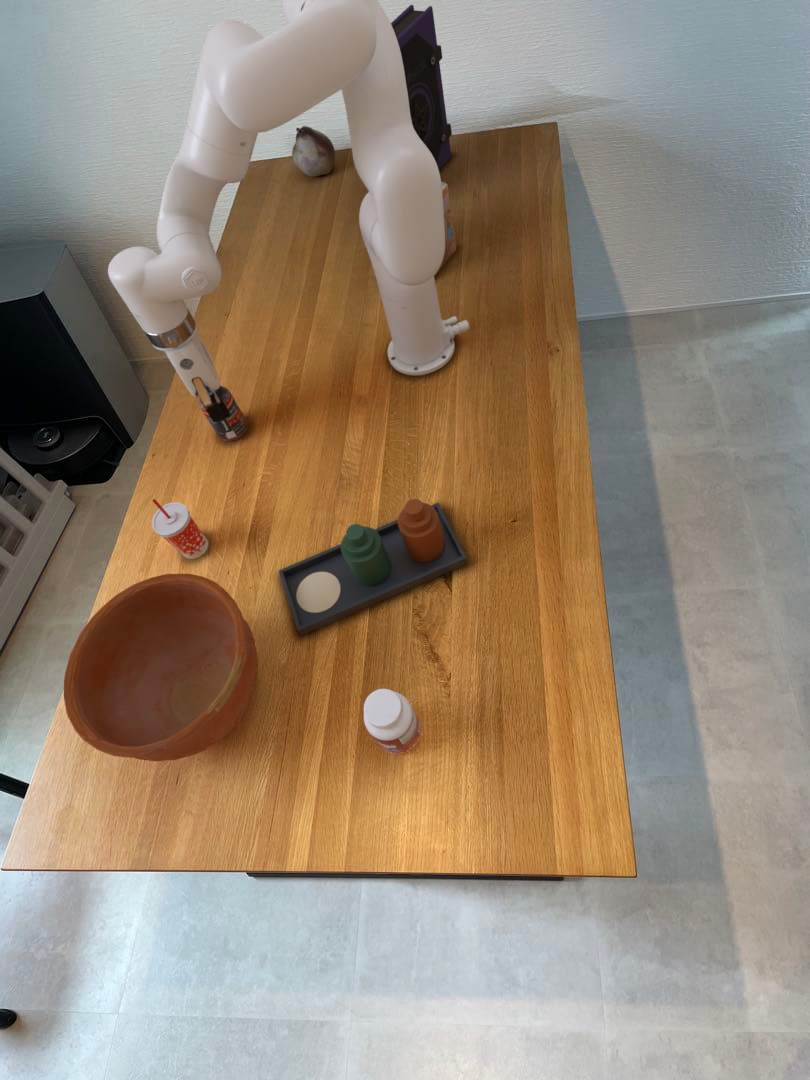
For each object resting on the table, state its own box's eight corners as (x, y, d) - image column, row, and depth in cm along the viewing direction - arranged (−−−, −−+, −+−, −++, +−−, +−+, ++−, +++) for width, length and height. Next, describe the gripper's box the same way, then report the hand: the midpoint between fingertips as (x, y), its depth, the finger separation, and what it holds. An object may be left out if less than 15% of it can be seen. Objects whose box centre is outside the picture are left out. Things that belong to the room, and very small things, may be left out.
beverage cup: (218, 535, 114) (180, 487, 102) (202, 566, 111) (160, 520, 100) (188, 528, 116) (147, 480, 104) (171, 559, 113) (127, 513, 102)
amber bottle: (436, 523, 107) (425, 482, 97) (451, 553, 103) (441, 514, 94) (401, 538, 106) (387, 499, 97) (415, 568, 103) (401, 531, 94)
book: (400, 216, 150) (369, 68, 125) (377, 211, 153) (342, 65, 128) (454, 155, 159) (435, 5, 133) (431, 151, 161) (409, 3, 136)
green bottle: (383, 546, 106) (367, 507, 97) (397, 576, 103) (381, 539, 94) (348, 561, 106) (328, 524, 97) (360, 592, 103) (341, 556, 94)
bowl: (236, 807, 90) (185, 784, 78) (91, 750, 98) (23, 720, 86) (311, 640, 101) (276, 595, 88) (174, 600, 109) (124, 554, 96)
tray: (440, 509, 109) (438, 502, 107) (468, 563, 103) (466, 557, 101) (282, 576, 108) (278, 570, 106) (301, 636, 102) (297, 630, 100)
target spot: (332, 565, 106) (332, 564, 106) (346, 601, 103) (346, 601, 102) (291, 582, 106) (291, 582, 106) (303, 620, 102) (303, 619, 102)
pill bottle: (367, 736, 92) (346, 711, 83) (396, 700, 94) (379, 672, 84) (402, 765, 89) (384, 743, 80) (431, 727, 91) (417, 701, 82)
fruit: (295, 184, 165) (278, 134, 155) (304, 161, 170) (288, 111, 159) (335, 181, 163) (320, 130, 152) (343, 158, 167) (329, 107, 157)
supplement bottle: (243, 443, 124) (217, 401, 114) (214, 442, 125) (186, 400, 116) (252, 418, 127) (228, 375, 117) (224, 417, 128) (197, 374, 119)
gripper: (203, 351, 101) (249, 430, 116) (183, 286, 110) (227, 366, 125) (156, 371, 100) (208, 447, 116) (139, 303, 110) (189, 382, 125)
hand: (217, 404), depth 120 cm, fingers closed on supplement bottle, 6 cm apart
